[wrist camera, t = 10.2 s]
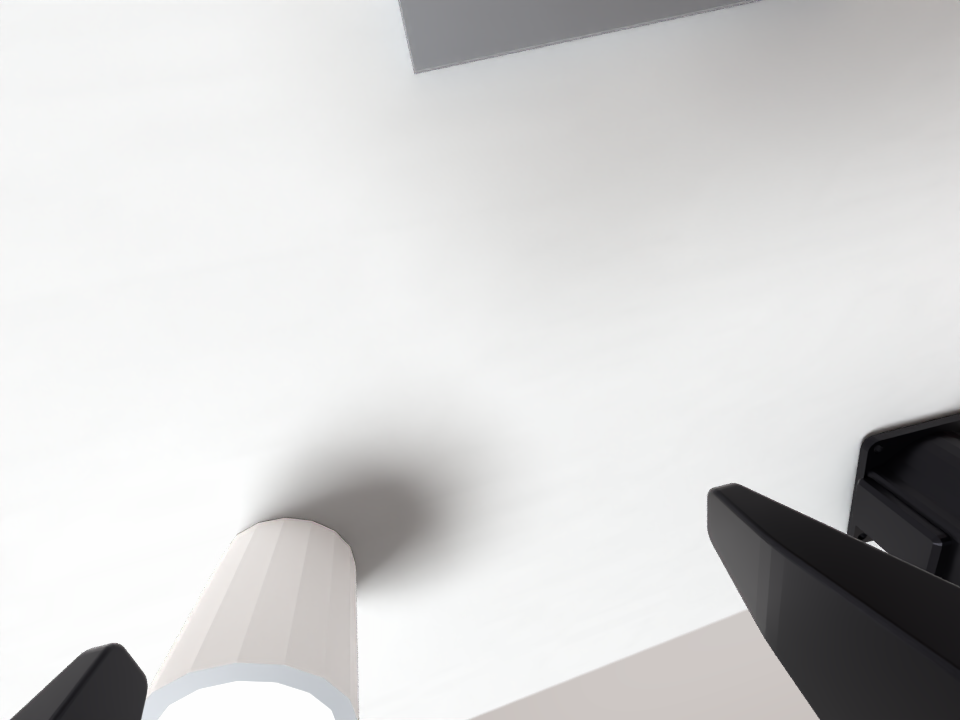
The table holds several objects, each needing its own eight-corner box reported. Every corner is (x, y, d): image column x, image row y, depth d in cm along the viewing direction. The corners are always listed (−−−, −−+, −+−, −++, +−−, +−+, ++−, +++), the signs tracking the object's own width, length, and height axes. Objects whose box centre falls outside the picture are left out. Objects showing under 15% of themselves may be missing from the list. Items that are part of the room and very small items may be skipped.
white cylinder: (394, 530, 23) (391, 688, 16) (337, 636, 25) (316, 811, 18) (233, 486, 20) (158, 646, 14) (186, 605, 23) (103, 790, 16)
